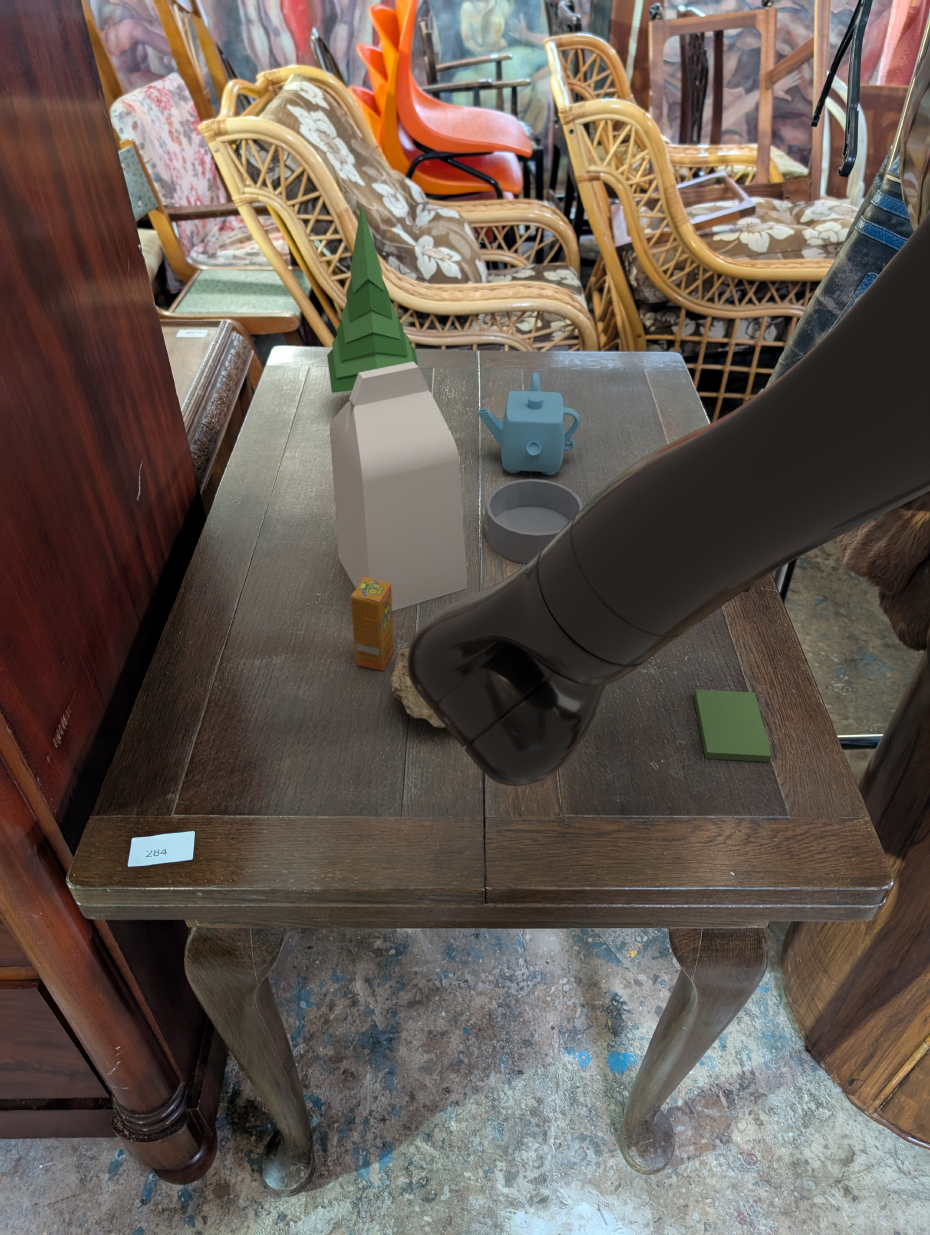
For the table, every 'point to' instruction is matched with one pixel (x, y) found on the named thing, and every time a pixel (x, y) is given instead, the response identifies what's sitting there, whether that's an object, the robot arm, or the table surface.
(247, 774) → the table surface
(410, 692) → the seashell
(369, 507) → the milk
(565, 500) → the pan
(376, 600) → the supplement box
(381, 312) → the decorative tree
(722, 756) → the green rectangular slab
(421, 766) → the table surface
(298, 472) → the table surface
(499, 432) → the teapot
